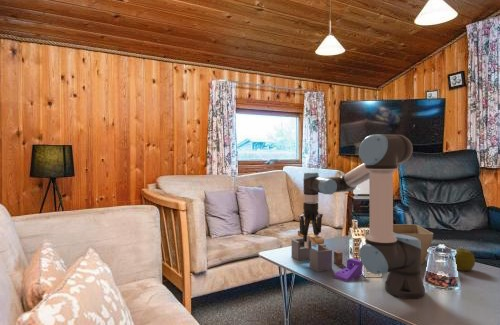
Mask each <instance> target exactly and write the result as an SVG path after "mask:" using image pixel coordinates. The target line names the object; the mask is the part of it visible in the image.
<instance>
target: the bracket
mask: <svg viewBox="0 0 500 325" xmlns="http://www.w3.org/2000/svg"><path fill="white" fill-rule="evenodd" d="M361 274H362V275H363V264H362V262H361V260H359V259H357V258H352V257H351V258H349V259H346V267H345V268H343V269H340V270H338V271H336V272H335V273H334V274H333V276H334V278H335V279H338V280H341V281H344V282H347V283H348V282H349V281H352V280H354V279H357V278H358V277H361V276H362V275H361ZM360 275H361V276H360Z"/></svg>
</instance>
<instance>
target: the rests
mask: <svg viewBox="0 0 500 325" xmlns="http://www.w3.org/2000/svg"><path fill="white" fill-rule="evenodd" d="M323 246H324V247H327V245H326V244H325V243H324V244H318V245H317V251H322V247H323ZM343 255H344V254H343V252H342V251H340V250H335V251H334V252H333V263H334V264H335V265H337V266H340V265H343V259H344V258H343Z"/></svg>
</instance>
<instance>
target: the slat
mask: <svg viewBox="0 0 500 325" xmlns="http://www.w3.org/2000/svg"><path fill="white" fill-rule="evenodd" d="M307 235H308V236H309V241H311V242H313V243H315V244H316V246H318V244H325V238H324V237H322V236H319V235H318V236H317V235H315V234H314V233H312V232H310V231H308V234H307ZM297 236H298V237H301V238H303V235H302V234H300V229H299V230H297Z"/></svg>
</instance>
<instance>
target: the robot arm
mask: <svg viewBox="0 0 500 325" xmlns="http://www.w3.org/2000/svg"><path fill="white" fill-rule="evenodd" d="M358 149H359V150H358V158H359V159H360V160H361V164H360V165H358V166H356V167H355V168H353V169H351V170H349V171H348V172H346V173H345V174H343V175H342V176H333V177H320V175H319V173H318V172H317V171H305V172H304V174H303V180H302V181H303V205H302V209H303V213H302V214H299V215H298V218H299V230H300V234H302V235H303V241H304V247H305V248H307V249H308V248H309V236H308V235H307V234H308V232H309V227H310V223H311V224H312V231H313V234H315V235H317V236H319V235H320V234H321V233H322V219H323V216H324V214H323V213H321V212H319V203H318V202H319V194H323V195H334V194H335V193H344V192H347V193H349V192H353V191H354V190H356V188H357V187H358V186H359V185H360V184H362V183H364V182H365V181H369V190H368V192H369V233H368V234H367V235H366V236H365V244H363V245H362V246H361V247H360V249H359V259H360V261H361V262H362V266H363V267H364V269H365V270H367V271H368V272H369V273H371V274H374V275H383V274H386V273H388V274H387V276H386V280H385V281H384V290H385V291H386V292H387V293H389V294H390V295H393V296H394V297H398V298H402V299H408V300H418V299H422V298H423V297H425V295H426V288H425V286H424V283H423V279H422V275H421V265H422V264H421V249H422V248H421V241H420V240H419V239H418V238H415V237H412V236H408V235H402V234H393V224H394V173H395V172H396V171H397V170H398V166H400V165H402V164H405V163H406V162H407V161H408V160H409V159H410V158H411V156H413V149H414V148H413V143H412V142H411V140H410V139H409V138H407V137H406V136H405V135H403V134H397V133H396V134H387V133H386V134H385V133H384V134H383V133H382V134H381V133H380V134H379V133H378V134H370V135H368V136H366V137H365V138H364V139H363V140H362V141H361V143H360V145H359V148H358ZM312 247H314V248H317V244H315V243H313V242H312Z"/></svg>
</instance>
